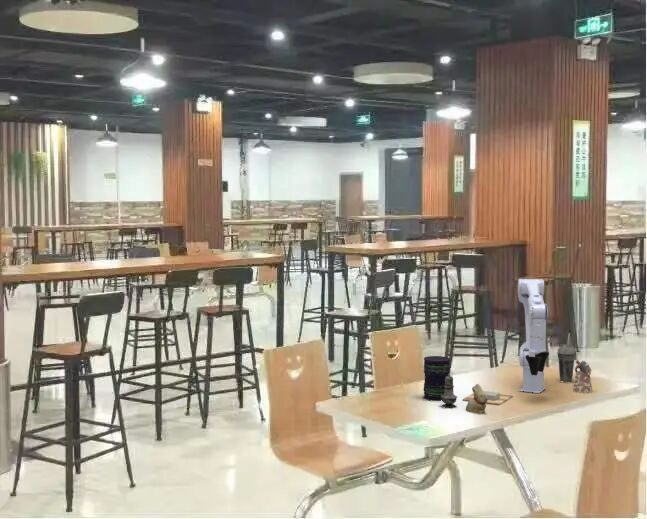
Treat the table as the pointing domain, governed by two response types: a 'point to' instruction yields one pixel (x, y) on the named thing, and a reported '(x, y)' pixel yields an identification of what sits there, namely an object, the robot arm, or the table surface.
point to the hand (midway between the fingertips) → (537, 373)
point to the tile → (492, 395)
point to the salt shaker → (449, 393)
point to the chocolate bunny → (477, 401)
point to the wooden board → (493, 402)
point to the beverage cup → (566, 361)
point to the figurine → (582, 378)
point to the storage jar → (435, 376)
